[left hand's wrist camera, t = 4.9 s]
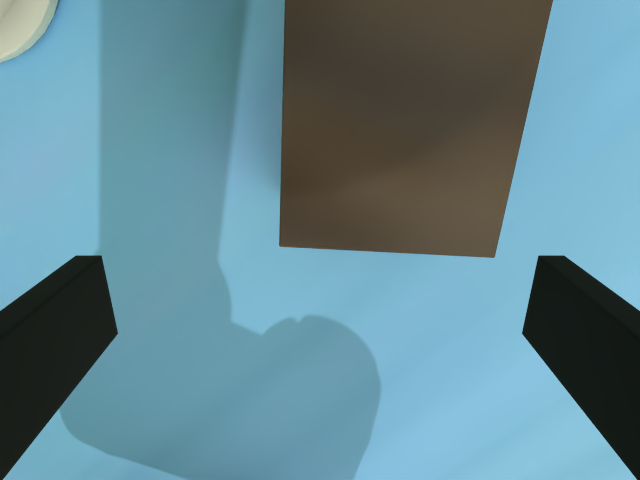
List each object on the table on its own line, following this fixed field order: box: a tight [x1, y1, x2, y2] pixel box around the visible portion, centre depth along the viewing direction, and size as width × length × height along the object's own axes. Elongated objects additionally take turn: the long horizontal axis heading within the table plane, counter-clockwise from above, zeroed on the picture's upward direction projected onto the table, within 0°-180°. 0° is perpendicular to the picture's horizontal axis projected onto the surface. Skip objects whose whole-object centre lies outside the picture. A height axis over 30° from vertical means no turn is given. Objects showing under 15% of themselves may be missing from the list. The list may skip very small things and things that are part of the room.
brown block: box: [279, 0, 553, 258], centre depth 22 cm, size 17×11×8 cm, turn 177°
